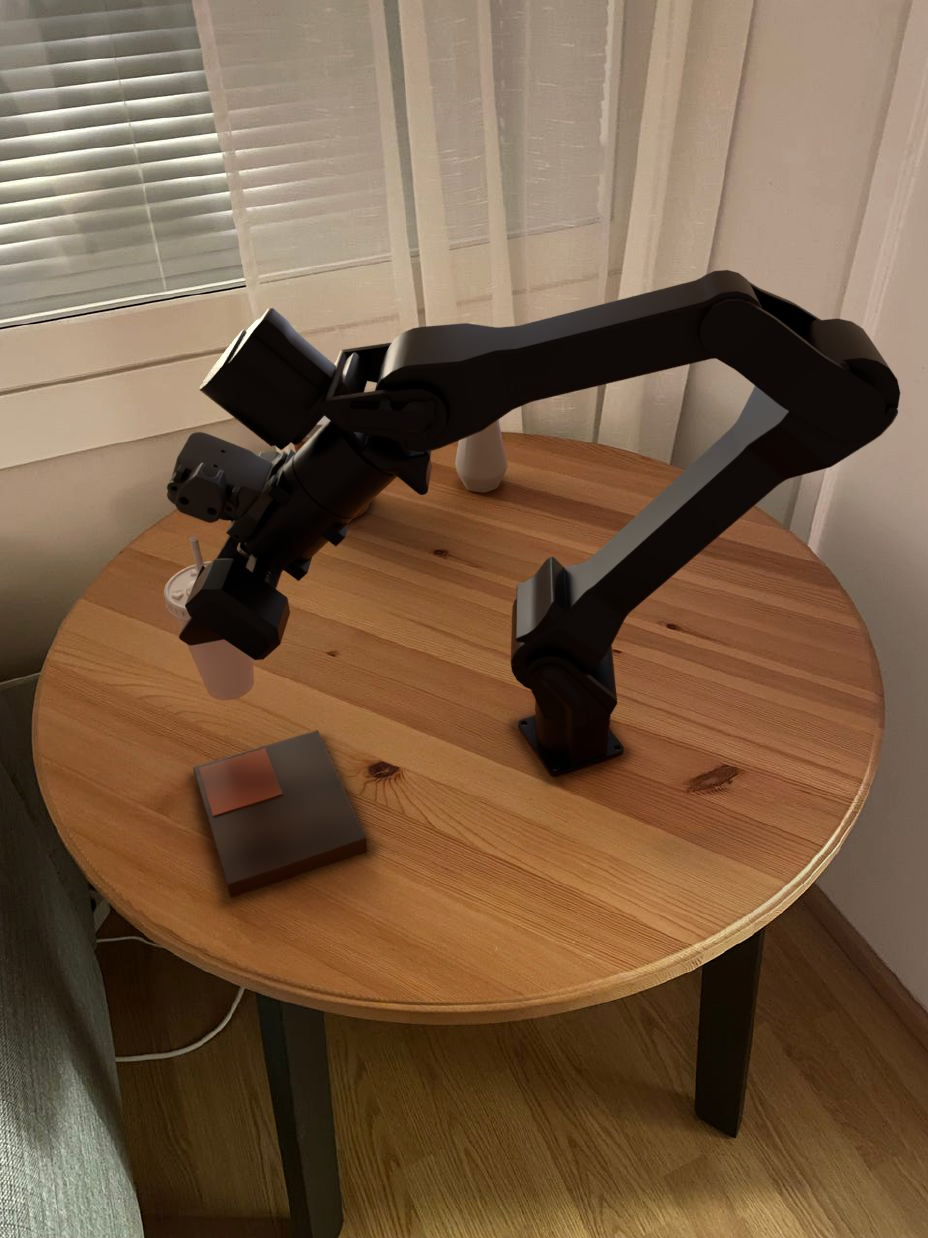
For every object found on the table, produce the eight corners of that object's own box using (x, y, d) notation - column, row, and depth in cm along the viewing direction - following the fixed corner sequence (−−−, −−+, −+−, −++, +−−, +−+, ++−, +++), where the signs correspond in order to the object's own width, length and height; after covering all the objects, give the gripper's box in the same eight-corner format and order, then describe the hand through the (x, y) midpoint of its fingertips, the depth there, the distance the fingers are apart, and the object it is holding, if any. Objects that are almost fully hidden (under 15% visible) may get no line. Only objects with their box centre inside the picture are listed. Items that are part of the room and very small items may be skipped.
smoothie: (177, 709, 77) (135, 558, 68) (204, 655, 82) (168, 508, 73) (258, 714, 76) (226, 562, 67) (280, 660, 81) (253, 512, 72)
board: (367, 851, 72) (366, 837, 71) (230, 898, 69) (226, 883, 68) (319, 742, 81) (317, 728, 80) (196, 780, 78) (192, 765, 77)
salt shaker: (509, 471, 115) (510, 364, 107) (505, 497, 110) (507, 387, 102) (458, 469, 115) (455, 362, 107) (452, 495, 111) (450, 386, 103)
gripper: (259, 346, 71) (142, 481, 79) (189, 480, 57) (53, 630, 64) (378, 445, 76) (257, 564, 83) (341, 593, 61) (198, 721, 68)
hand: (196, 612), depth 75 cm, fingers closed on smoothie, 6 cm apart
